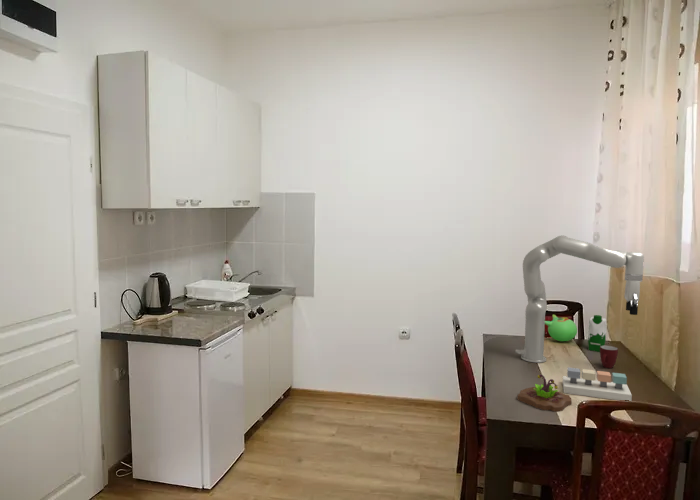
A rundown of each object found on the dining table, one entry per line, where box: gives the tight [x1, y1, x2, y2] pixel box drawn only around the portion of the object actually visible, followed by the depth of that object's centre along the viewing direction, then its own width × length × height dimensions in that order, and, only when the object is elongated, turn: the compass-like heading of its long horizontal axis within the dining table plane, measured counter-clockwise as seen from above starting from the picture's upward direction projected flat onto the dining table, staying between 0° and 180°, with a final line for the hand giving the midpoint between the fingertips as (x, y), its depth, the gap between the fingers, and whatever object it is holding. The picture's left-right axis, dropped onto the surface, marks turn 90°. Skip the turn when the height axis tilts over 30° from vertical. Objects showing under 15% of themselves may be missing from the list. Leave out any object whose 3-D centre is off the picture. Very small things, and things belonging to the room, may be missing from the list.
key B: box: [581, 368, 597, 385], centre depth 220 cm, size 5×5×6 cm
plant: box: [516, 374, 572, 413], centre depth 208 cm, size 20×20×11 cm
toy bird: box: [545, 314, 578, 342], centre depth 299 cm, size 18×17×15 cm
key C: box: [596, 370, 612, 388], centre depth 217 cm, size 5×5×6 cm
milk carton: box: [587, 314, 608, 353], centre depth 281 cm, size 9×9×20 cm
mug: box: [599, 345, 619, 369], centre depth 251 cm, size 10×8×10 cm
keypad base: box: [562, 375, 633, 402], centre depth 219 cm, size 26×14×3 cm, turn 69°
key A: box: [566, 366, 581, 384], centre depth 222 cm, size 5×5×6 cm
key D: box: [611, 372, 628, 389], centre depth 215 cm, size 5×5×6 cm
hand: (631, 312), depth 242 cm, fingers open, 9 cm apart
